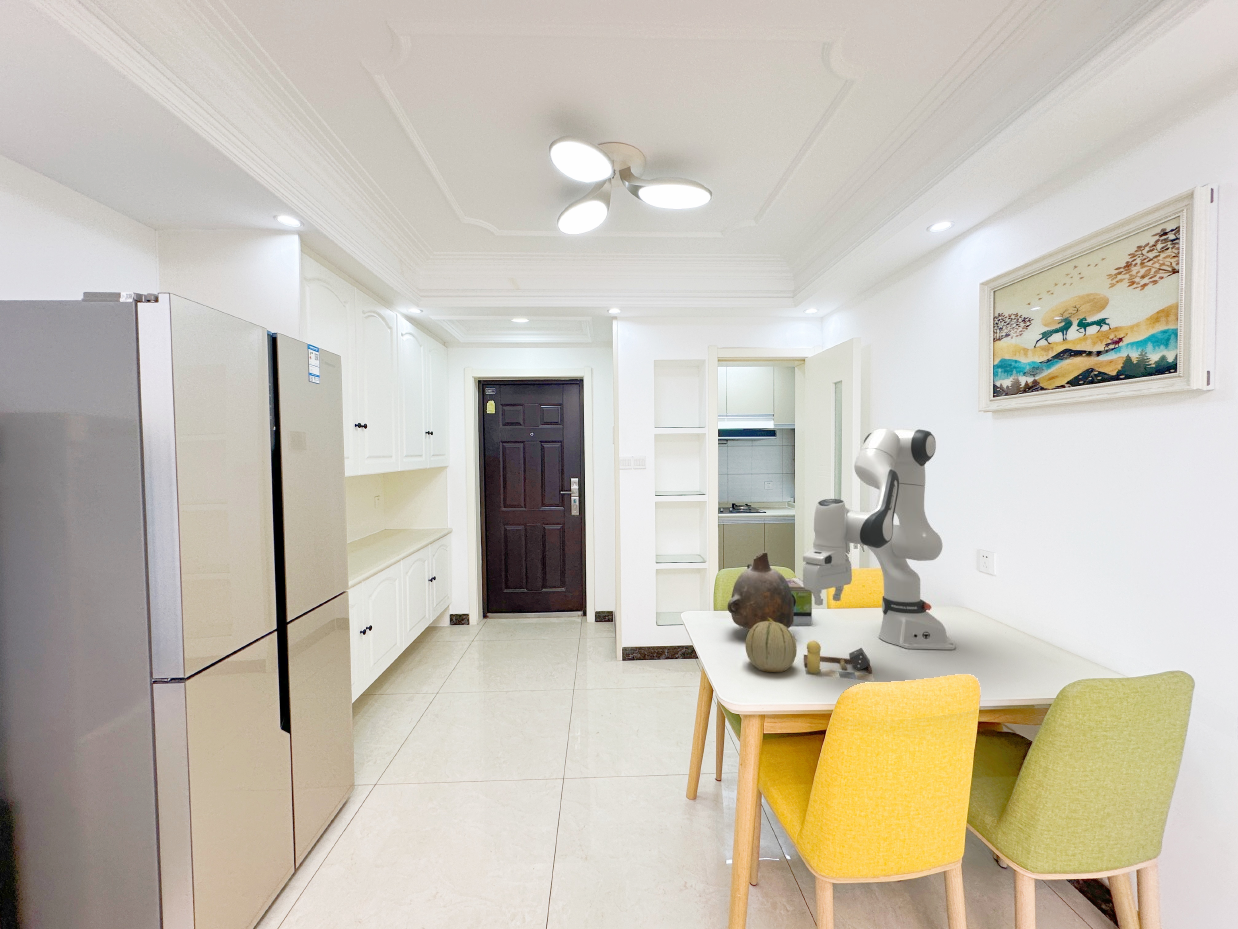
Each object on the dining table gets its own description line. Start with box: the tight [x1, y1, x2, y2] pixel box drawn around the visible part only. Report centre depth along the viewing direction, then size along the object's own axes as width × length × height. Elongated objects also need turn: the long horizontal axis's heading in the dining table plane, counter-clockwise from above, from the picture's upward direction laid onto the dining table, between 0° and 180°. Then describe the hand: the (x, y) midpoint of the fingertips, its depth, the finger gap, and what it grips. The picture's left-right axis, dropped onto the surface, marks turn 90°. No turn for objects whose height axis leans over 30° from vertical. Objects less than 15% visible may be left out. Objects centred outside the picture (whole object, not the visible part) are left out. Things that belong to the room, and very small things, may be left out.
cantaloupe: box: [745, 618, 798, 673], centre depth 158 cm, size 15×15×15 cm
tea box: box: [784, 577, 813, 626], centre depth 207 cm, size 15×10×15 cm, turn 179°
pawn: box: [806, 640, 822, 674], centre depth 154 cm, size 4×4×9 cm
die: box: [848, 647, 871, 671], centre depth 156 cm, size 4×4×4 cm
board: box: [803, 654, 875, 682], centre depth 156 cm, size 18×12×2 cm, turn 73°
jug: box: [726, 551, 796, 631], centre depth 188 cm, size 24×21×30 cm
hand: (827, 602), depth 156 cm, fingers open, 8 cm apart
